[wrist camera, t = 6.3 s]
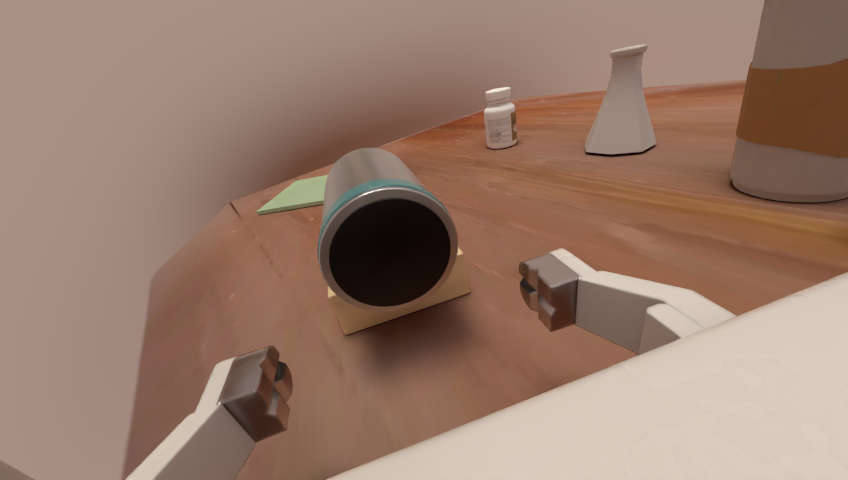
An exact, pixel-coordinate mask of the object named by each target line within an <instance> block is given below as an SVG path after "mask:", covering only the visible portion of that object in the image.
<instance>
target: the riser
mask: <svg viewBox="0 0 848 480" xmlns="http://www.w3.org/2000/svg"><path fill="white" fill-rule="evenodd" d="M467 293H470V288H469V282H468V276H467V270H466V265H465V259H464V253H463V252H462V251H461V249H460V248H459V247H458V253H457V258H456V261H455V265H454V267H453V269H452V271H451V273H450V275H449V277H448V278H447V280H446V281H445V282H444V284H443V285H442V286H441V287H440V288H439V289H438V290H437V291H436V292H435V293H434V294H432V295H431V296H430V297H428V298H427V299H425V300H424V301H422V302H420V303H418V304H416V305H414V306H411V307H409V308H406V309H402V310H397V311H391V312H374V311H367V310H363V309H360V308H357V307H354V306H352V305H350V304H348V303H346V302H345V301H343V300H342V299H341V298H339V297H338V296H337V295H336V294H335V293H334V292H333V291H332V290H331V289H330V287H329V286H328V300H329V302H330V304H331V306H332V308H333V310H334V312H335V315H336V317H337V319H338V321H339V323H340V325H341V327H342V329H343V332H344V334H345V335H348V334H351V333H354V332H357V331H360V330H363V329H366V328H368V327H371V326H374V325H377V324H380V323H383V322H386V321H389V320H392V319H395V318H398V317H400V316H403V315H406V314H409V313H412V312H415V311H418V310H421V309H424V308H427V307H430V306H432V305H435V304H438V303H441V302H444V301H447V300H450V299H453V298H456V297H459V296H462V295H464V294H467Z"/></svg>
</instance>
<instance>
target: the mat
mask: <svg viewBox="0 0 848 480" xmlns="http://www.w3.org/2000/svg"><path fill="white" fill-rule="evenodd" d="M327 176H328V175H325V176H320V177H314V178H309V179H303V180H298V181H295V182H294V183H293V184H291V185H290V186H289V187H288V188H286V189H285V190H284V191H282V192H281V193H280V194H278V195H277V196H276V197H275V198H273V199H272V200H271V201H269V202H268V203H267V204H265V205H264V206H263V207H262V208H260V209H259V210H258V211H257V213H258V215H262V214H268V213H274V212H280V211H286V210H292V209H298V208H304V207H310V206H316V205H322V204H323V203H324V193H325V184H326V180H327Z"/></svg>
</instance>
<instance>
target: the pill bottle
mask: <svg viewBox="0 0 848 480" xmlns="http://www.w3.org/2000/svg"><path fill="white" fill-rule="evenodd" d="M485 95H486V101H487V102H486V103H488V107H487V108H486V109H485V111H484V119H485V129H486V139H487V146H488V147H489V148H491V149H501V148H506V147H510V146H512V145H514V144H516V142H517V132H516V113H515V106H514V104H512V103H510V99H511V89H510V87H504V88H498V89H494V90H490V91H487V92H486V93H485Z"/></svg>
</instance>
